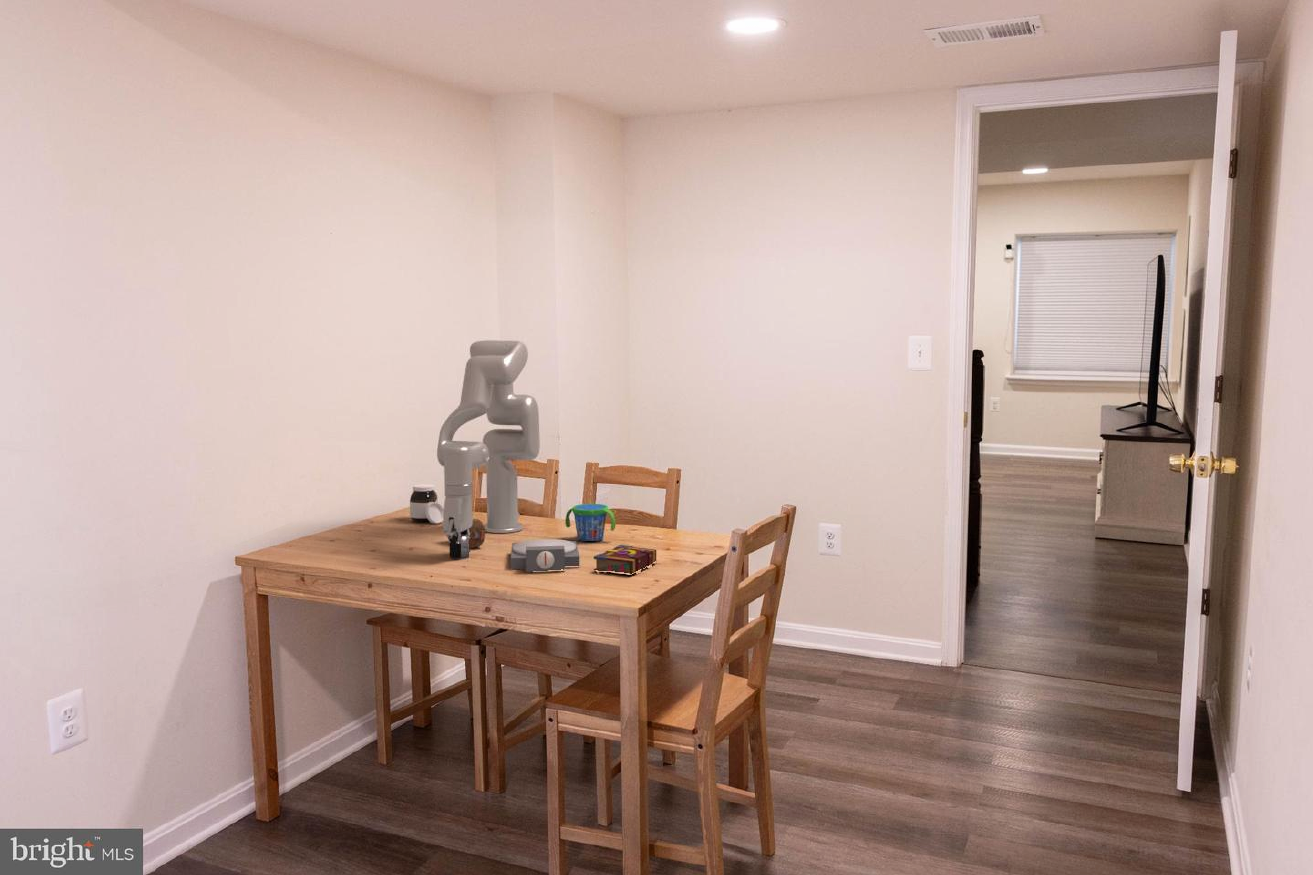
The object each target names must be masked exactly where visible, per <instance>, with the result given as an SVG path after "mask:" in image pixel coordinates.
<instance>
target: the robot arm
mask: <svg viewBox="0 0 1313 875" xmlns="http://www.w3.org/2000/svg"><path fill="white" fill-rule="evenodd" d="M469 355H470V358H469V359H468V360H467V361H466V365H465V368H464V375H463V382H462V389H461V395H460V402H459V405H458V407H457V408H455V409H454V410H453V411H452V412H451V413H450V414H449V415H448V417H447V418H446V419H445V420H444V422H443V424H442V426H441V429H440V431H439V436H438V442H437V449H436V457H437V461H438V463H439V464H440V465H441V466H442V467H443V473H444V474H443V475H444V476H443V478H444V484H443V485H444V503H443V509H444V515H443V521H442V525H443V526H442V530H443V532H444V533H445V534H446V535H445V536H446V537H447V539H448V544H449V557H450V558H451V557H452V558H460V557H461V543H460V534H467V535H469V538H470V531H471V529H470V528H471V526H472V524H473V518H474V516H473V515H474V513H473V510H474V509H473V502H472V501H473V499H472V496H473V469H480V468H484V466H485V470H486V471H485V473H486V516H487V517H486V521H487V523H485V524H483V525H484V528H485V533H491V534H492V533H493V534H510V533H516V532H520V531H522V530H523V529H524V525H523V524H522V523H521V522H519V518H520V512H519V510H518V509H519V508H518V507H519V506H518V505H519V504H518V503H519V502H518V472H517V470H516V468H515V466H514V465H513V463H512V462H511V461H533V460H535V459H537V457H538V456H539V454H540V445H541V444H540V416H539V406H538V402H537V400H536V398H535V397H534V396H532V395H528V394H515V392H514V382H515V381H516V380H517V379H518V377H519V375H520V374H521V373H522V372H523V370H524V368H525V366H526V365H527V362H528V358H529V352H528V347H527V346H526V344H525V343H524V342H523V341H519V340H491V339H487V340H477V341H475V342H472V343H471V345H470V346H469ZM484 415H486V418H487V421H488V422H489V423H490V424H492V425H497V426H520V427H521V429H515V428H514V429H511V428H495V429H491V430H488V431H486V433H485V434H484V435H483V436H482V437H483V438H482V442H481V441H467V440H465V441H464V440H453V439H454V435H455V434H456V432H457V431H458V430H459V428H460V427H462V426H464V424H466V423H468V422H471V421H473V420H475V419H477V418H479V417H482V416H484ZM453 530H457V532H453ZM453 534H457V538H456V536H455V535H453ZM470 552H471V548H470V539H469V553H470ZM452 558H451V559H452Z"/></svg>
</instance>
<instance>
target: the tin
mask: <svg viewBox="0 0 1313 875" xmlns="http://www.w3.org/2000/svg"><path fill="white" fill-rule="evenodd" d="M484 525H485V524H484V523H483V521H481V520H480V519H478V518H477V519H476V518H474V517H473V524H472V526H471V528H470V529H471V531H470V538H469V539H470V549H473V548H479V547H481V546H482V545H483V544H484V543H485V538H486V531H485V528H484ZM453 532H457V530H453ZM453 535H454V534H453Z"/></svg>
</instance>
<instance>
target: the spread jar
mask: <svg viewBox="0 0 1313 875" xmlns="http://www.w3.org/2000/svg"><path fill="white" fill-rule="evenodd" d="M438 498H439V497H438V494H437V492H436V491H435V485H434V484H431V483H420V484H419V483H418V484H414V485H412V493H411V495H410V500H409V515H410V519H411V521H412V522H414V523H417V524H427V523H431V524H434V525H437V524H440V523H443V515H444V506H442V505H441V504H440V503H439V502H438V501H439V500H438Z"/></svg>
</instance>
